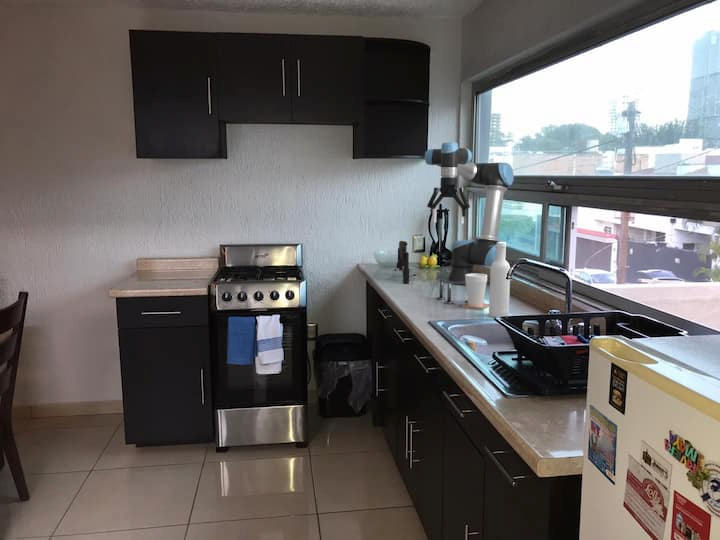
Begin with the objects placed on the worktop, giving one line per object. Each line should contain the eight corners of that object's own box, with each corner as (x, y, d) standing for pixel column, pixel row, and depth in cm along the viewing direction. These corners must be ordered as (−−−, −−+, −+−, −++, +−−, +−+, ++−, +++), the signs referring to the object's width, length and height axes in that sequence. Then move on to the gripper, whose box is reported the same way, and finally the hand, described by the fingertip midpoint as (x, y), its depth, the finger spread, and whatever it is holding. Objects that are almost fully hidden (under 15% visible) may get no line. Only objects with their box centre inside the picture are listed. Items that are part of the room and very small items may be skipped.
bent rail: (438, 297, 273) (439, 277, 272) (475, 301, 264) (476, 280, 262) (428, 301, 264) (429, 280, 262) (466, 306, 254) (466, 284, 253)
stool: (389, 245, 303) (387, 239, 336) (388, 285, 306) (387, 275, 339) (419, 245, 303) (414, 239, 336) (418, 285, 306) (414, 275, 339)
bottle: (505, 313, 240) (508, 241, 236) (511, 318, 233) (514, 243, 228) (486, 313, 240) (488, 241, 236) (491, 318, 232) (494, 243, 228)
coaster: (469, 304, 259) (469, 301, 259) (489, 306, 255) (489, 304, 255) (462, 307, 252) (462, 305, 252) (482, 310, 247) (482, 307, 247)
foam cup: (488, 303, 255) (489, 274, 253) (483, 307, 247) (484, 277, 245) (467, 301, 259) (468, 272, 257) (461, 305, 251) (462, 275, 249)
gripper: (420, 177, 270) (420, 222, 274) (471, 176, 257) (470, 224, 261) (427, 177, 277) (426, 221, 280) (477, 176, 264) (476, 223, 267)
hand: (447, 223), depth 270 cm, fingers open, 13 cm apart
